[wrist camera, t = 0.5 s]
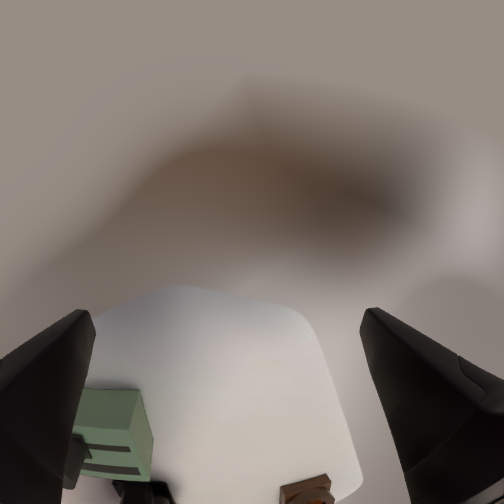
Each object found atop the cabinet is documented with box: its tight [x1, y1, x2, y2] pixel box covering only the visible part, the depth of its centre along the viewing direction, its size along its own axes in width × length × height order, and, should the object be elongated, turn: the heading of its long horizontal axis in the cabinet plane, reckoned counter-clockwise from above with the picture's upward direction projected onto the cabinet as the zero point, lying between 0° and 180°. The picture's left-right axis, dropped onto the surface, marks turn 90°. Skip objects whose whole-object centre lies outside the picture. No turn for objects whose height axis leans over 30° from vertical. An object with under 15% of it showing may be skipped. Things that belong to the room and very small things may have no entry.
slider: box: [63, 434, 92, 490], centre depth 11 cm, size 2×2×4 cm
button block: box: [281, 474, 335, 504], centre depth 23 cm, size 6×6×4 cm
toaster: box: [72, 388, 154, 481], centre depth 17 cm, size 6×7×6 cm
